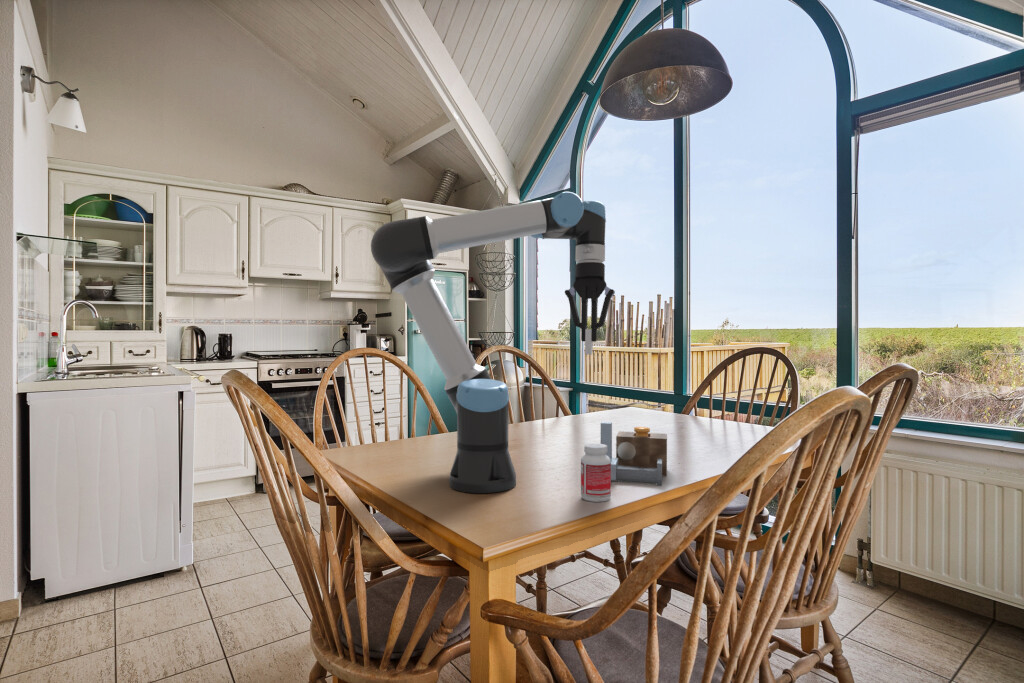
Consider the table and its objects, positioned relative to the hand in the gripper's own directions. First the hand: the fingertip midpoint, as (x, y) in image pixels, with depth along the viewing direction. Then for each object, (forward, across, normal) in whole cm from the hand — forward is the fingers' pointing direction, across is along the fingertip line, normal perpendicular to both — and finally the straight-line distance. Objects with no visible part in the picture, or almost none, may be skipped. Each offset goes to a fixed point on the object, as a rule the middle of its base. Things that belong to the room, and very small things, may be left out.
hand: (588, 354), depth 139 cm
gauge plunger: (+25, +14, -1) cm, 28 cm away
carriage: (+29, +6, -11) cm, 31 cm away
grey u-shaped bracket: (+29, +10, -10) cm, 32 cm away
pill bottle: (+29, +6, -27) cm, 40 cm away
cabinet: (+29, +14, 0) cm, 32 cm away
